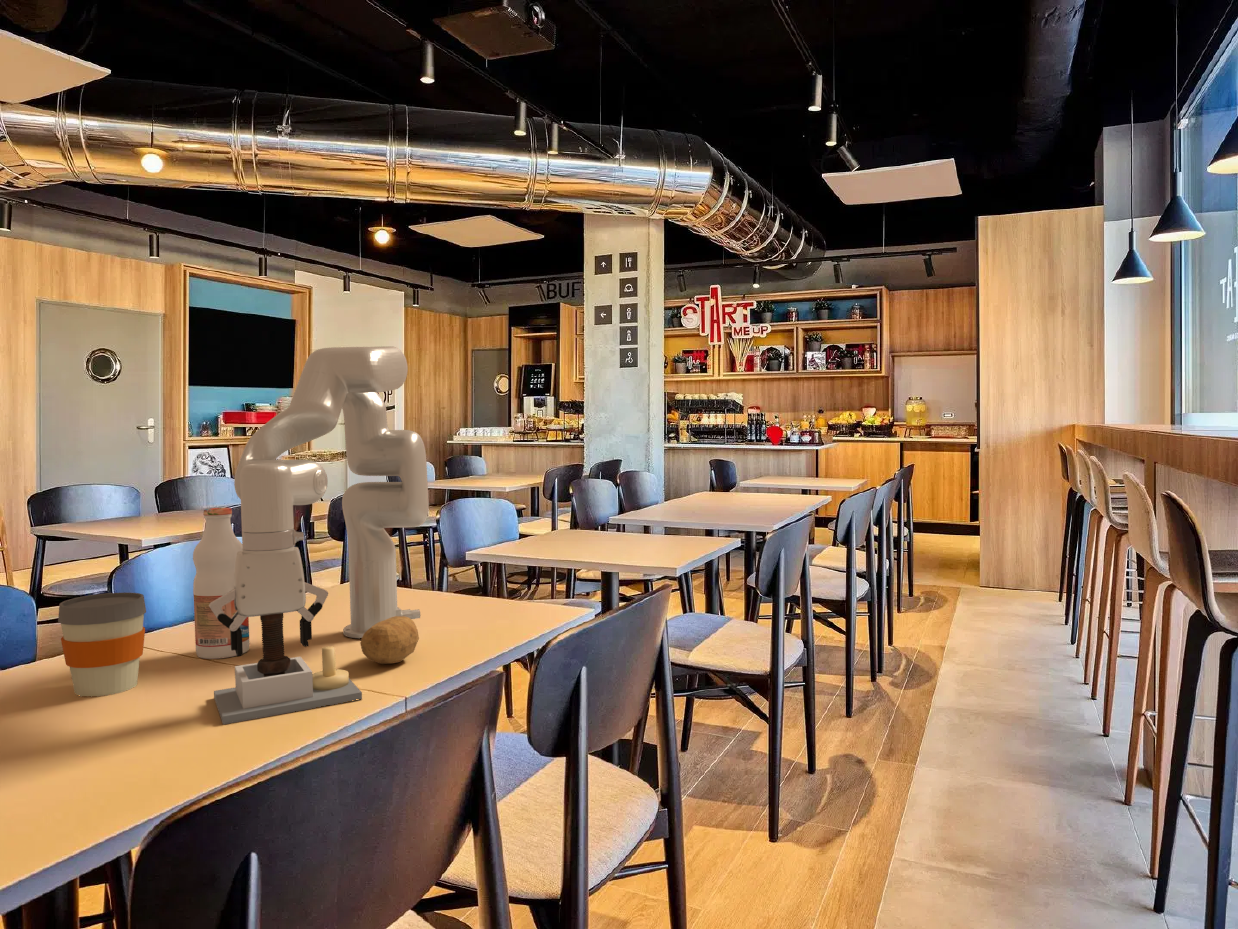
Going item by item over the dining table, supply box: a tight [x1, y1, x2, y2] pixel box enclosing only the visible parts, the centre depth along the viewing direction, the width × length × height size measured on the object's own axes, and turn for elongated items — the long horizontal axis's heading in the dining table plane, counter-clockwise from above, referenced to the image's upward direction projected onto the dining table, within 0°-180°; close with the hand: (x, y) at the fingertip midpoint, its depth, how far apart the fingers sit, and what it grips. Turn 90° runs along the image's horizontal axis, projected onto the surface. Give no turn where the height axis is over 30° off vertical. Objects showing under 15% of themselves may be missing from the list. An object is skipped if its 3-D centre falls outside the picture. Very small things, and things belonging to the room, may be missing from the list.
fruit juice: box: [192, 507, 251, 660], centre depth 160 cm, size 9×9×28 cm
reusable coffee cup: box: [57, 592, 147, 698], centre depth 139 cm, size 13×12×15 cm
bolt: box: [256, 613, 291, 677], centre depth 132 cm, size 6×5×15 cm
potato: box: [359, 616, 420, 665], centre depth 153 cm, size 10×14×8 cm
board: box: [213, 646, 363, 725], centre depth 133 cm, size 20×14×7 cm
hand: (272, 649), depth 131 cm, fingers open, 9 cm apart
